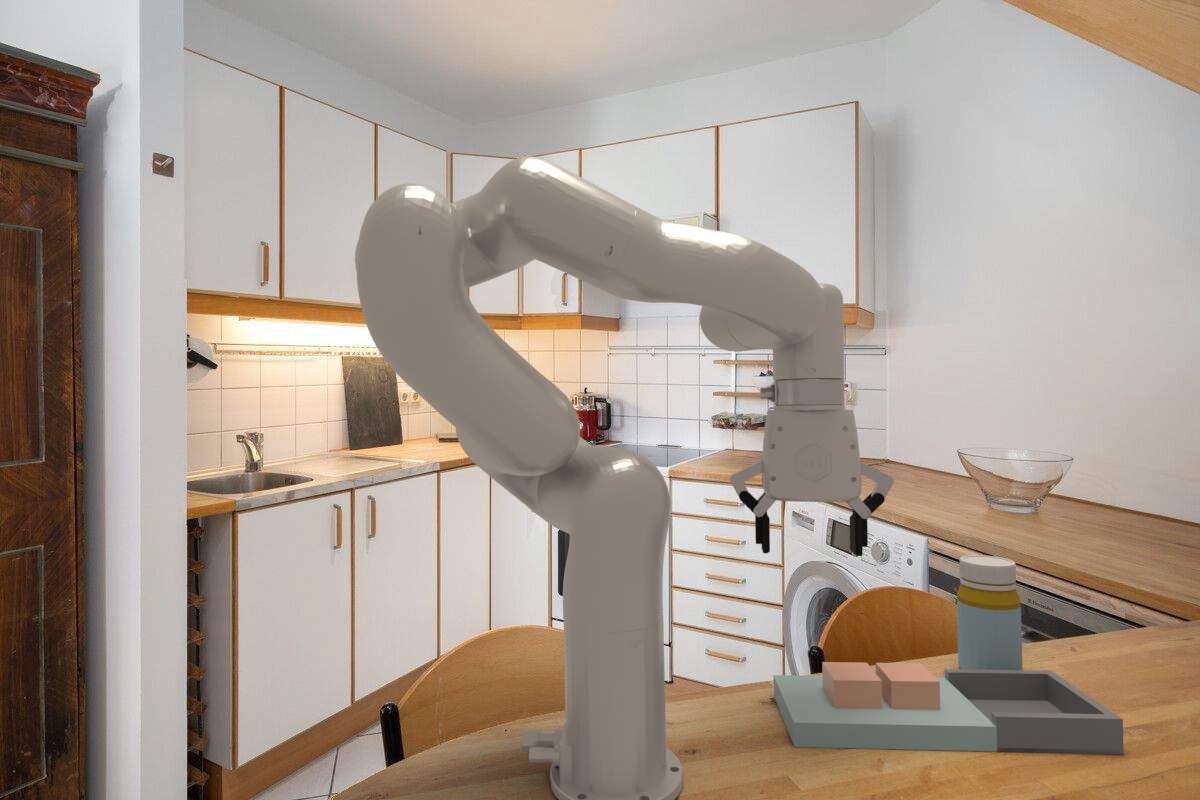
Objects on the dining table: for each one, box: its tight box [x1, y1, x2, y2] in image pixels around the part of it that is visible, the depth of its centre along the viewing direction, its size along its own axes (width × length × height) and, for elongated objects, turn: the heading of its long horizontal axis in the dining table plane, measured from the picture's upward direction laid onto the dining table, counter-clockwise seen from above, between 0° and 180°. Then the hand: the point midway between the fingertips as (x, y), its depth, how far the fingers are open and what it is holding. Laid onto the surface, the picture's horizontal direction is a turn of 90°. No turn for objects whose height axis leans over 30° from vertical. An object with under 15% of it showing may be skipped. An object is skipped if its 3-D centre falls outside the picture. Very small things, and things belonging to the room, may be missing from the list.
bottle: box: [956, 554, 1024, 670], centre depth 84 cm, size 7×7×15 cm
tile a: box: [821, 661, 882, 709], centre depth 74 cm, size 5×5×3 cm
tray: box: [943, 668, 1125, 755], centre depth 72 cm, size 12×12×4 cm
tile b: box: [875, 662, 940, 710], centre depth 73 cm, size 5×5×3 cm
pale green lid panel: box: [772, 674, 997, 752], centre depth 73 cm, size 20×12×2 cm, turn 85°
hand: (810, 552), depth 73 cm, fingers open, 9 cm apart
